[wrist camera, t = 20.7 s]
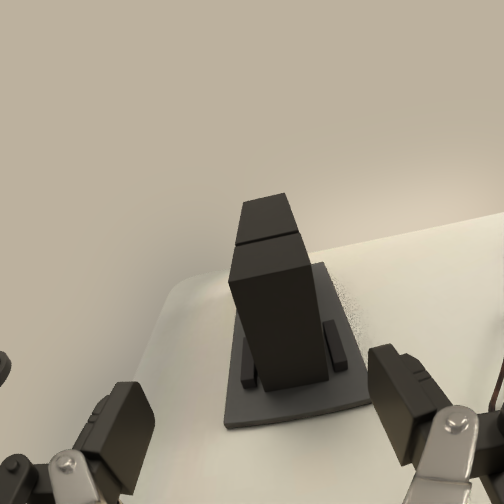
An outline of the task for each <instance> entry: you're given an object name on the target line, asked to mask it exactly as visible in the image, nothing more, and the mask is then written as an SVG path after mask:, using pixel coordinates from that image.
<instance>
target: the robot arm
mask: <svg viewBox="0 0 504 504" xmlns="http://www.w3.org/2000/svg"><path fill="white" fill-rule="evenodd" d="M0 363H1V359H0ZM367 384H368V392H369V396H370V399H371V401H372V403H373V405H374V408H375V410H376V412H377V414H378V416H379V418H380V420H381V423H382V425H383V427H384V429H385V431H386V433H387V436H388V438H389V440H390V442H391V444H392V447H393V449H394V451H395V453H396V456H397V458H398V460H399V462H400V465H401V467H402V466H405V465H407V464H410V463H412V464H413V466H414V468H415V470H416V473H415V475H414V477H413V480H412V482H411V485H410V487H409V489H408V492H407V494H406V496H405V499H404V501H403V503H402V504H468V500H469V497H470V493H471V487H472V483H471V482H469V479H472V478H477V477H479V478H480V480H481V482H482V484H483V486H484V488H485V490H486V492H487V494H488V496H489V499H490V501H491V503H492V504H504V403H503V405H502V408H501V410H498V411H493V412H488V413H482V414H476V413H475V412H474V411H473V410H471V409H470V408H468V407H465V406H460V405H454V406H453V404H452V403H451V402H450V401H449V399H448V398H447V396H446V395H445V394H444V392H443V391H442V390H441V389H440V387H439V386H438V385H437V383H436V382H435V381H434V379H433V378H431V375H430V374H429V373H428V372H427V371H426V370H425V368H424V366H423V365H422V364H421V363H420V361H419V360H418V359H416V358H414V357H412V356H411V355H409V354H407V353H406V354H403V355H399V354H398V352H397V351H396V349H395V348H394V347H393V345H392V344H390V343H389V344H385V345H381V346H378V347H374V348H370V349H369V351H368V381H367ZM154 427H155V417H154V413H153V411H152V409H151V407H150V405H149V402H148V400H147V398H146V396H145V394H144V392H143V389H142V387H141V385H140V384H139V383H138V382H117V383H116V384H115V386H114V388H113V390H112V391H111V393H110V395H107V396H105V397H104V398H103V399H102V400H101V401H100V402H99V403H98V404H97V405H96V407H95V409H94V410H93V412H92V415H91V416H90V417H89V419H88V423H86V425H85V426H84V428H83V430H82V431H81V433H80V435H79V437H78V439H77V440H76V442H75V444H74V446H73V448H72V449H68V450H64V451H61V452H59V453H57V454H56V455H55V456H54V457H53V458H52V459H51V460H50V462H49V464H34V465H33V464H32V463H31V462H30V460H29V459H28V458H27V457H26V456H25V455H22V454H14V455H11V456H9V457H7V458H6V459H5V460H4V461H3V462H2V464H1V465H0V504H26V503H27V504H123V503H122V501H121V500H120V499H119V496H120V494H126V495H133V493H134V490H135V486H136V483H137V480H138V477H139V474H140V471H141V467H142V464H143V461H144V458H145V455H146V452H147V449H148V446H149V443H150V440H151V437H152V434H153V431H154Z"/></svg>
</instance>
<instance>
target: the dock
mask: <svg viewBox="0 0 504 504" xmlns="http://www.w3.org/2000/svg"><path fill="white" fill-rule="evenodd" d="M296 233H299V230H298V227H297V224H296V222H295V219H294V216H293V213H292V211H291V208H290V205H289V203H288V200H287V197H286V195H285V193H281V194H277V195H272V196H268V197H264V198H259V199H255V200H251V201H247V202H243V206H242V211H241V216H240V221H239V227H238V232H237V237H236V242H235V246H236V247H237V246H242V245H246V244H251V243H255V242H260V241H264V240H269V239H273V238H278V237H282V236H287V235H292V234H296ZM311 266H312V272H313V277H314V283H315V289H316V295H317V301H318V307H319V313H320V320H321V326H322V333H323V339H324V346H325V353H326V360H327V367H328V375H329V381H324V382H319V383H314V384H310V385H304V386H299V387H294V388H288V389H282V390H276V391H270V392H264V389H263V386H262V383H261V380H260V377H259V375H258V372H257V369H256V366H255V363H254V360H253V357H252V354H251V351H250V348H249V345H248V342H247V339H246V336H245V333H244V330H243V327H242V324H241V321H240V318H239V315H238V312H237V308H236V317H235V325H234V334H233V343H232V352H231V361H230V369H229V378H228V387H227V397H226V406H225V415H224V425H225V427H226V428H235V427H244V426H253V425H261V424H269V423H276V422H283V421H289V420H295V419H301V418H306V417H312V416H317V415H322V414H326V413H331V412H336V411H340V410H344V409H349V408H353V407H357V406H361V405H365V404H368V403H372V401H371V399H370V396H369V392H368V384H367V381H368V372H367V369H366V366H365V363H364V361H363V358H362V356H361V353H360V350H359V348H358V345H357V342H356V340H355V337H354V335H353V332H352V330H351V327H350V325H349V322H348V320H347V317H346V315H345V312H344V310H343V307H342V305H341V302H340V300H339V297H338V295H337V293H336V290H335V288H334V285H333V283H332V281H331V278H330V276H329V274H328V271H327V269H326V267H325V264H324V262H320V263H315V264H311Z"/></svg>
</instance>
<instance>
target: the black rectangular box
mask: <svg viewBox="0 0 504 504" xmlns="http://www.w3.org/2000/svg"><path fill="white" fill-rule="evenodd" d="M228 283H229V287H230V290H231V293H232V296H233V299H234V302H235V305H236V308H237V312H238V315H239V318H240V321H241V324H242V327H243V330H244V333H245V336H246V339H247V342H248V345H249V348H250V351H251V354H252V357H253V360H254V363H255V366H256V369H257V372H258V375H259V377H260V380H261V383H262V386H263V389H264V392H270V391H276V390H282V389H288V388H294V387H299V386H304V385H310V384H314V383H319V382H324V381H329V375H328V367H327V360H326V353H325V346H324V339H323V333H322V326H321V320H320V313H319V307H318V301H317V295H316V289H315V283H314V277H313V272H312V266H311V263H310V260H309V257H308V254H307V251H306V248H305V245H304V242H303V240H302V237H301V234H300V233H296V234H292V235H287V236H282V237H278V238H273V239H269V240H264V241H260V242H255V243H251V244H246V245H242V246H237V247H235V249H234V254H233V259H232V264H231V270H230V275H229V280H228Z"/></svg>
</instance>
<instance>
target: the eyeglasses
mask: <svg viewBox="0 0 504 504" xmlns="http://www.w3.org/2000/svg"><path fill="white" fill-rule="evenodd" d="M503 378H504V359H503V363H502V367H501V370H500V374H499V377H498V380H497V383H496V386H495V389H494V392H493V395H492V398H491V401H490V403H489V409H488V412H493V411H495V404H496V400H497V397H498V394H499V391H500V388H501V385H502V382H503Z"/></svg>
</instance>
